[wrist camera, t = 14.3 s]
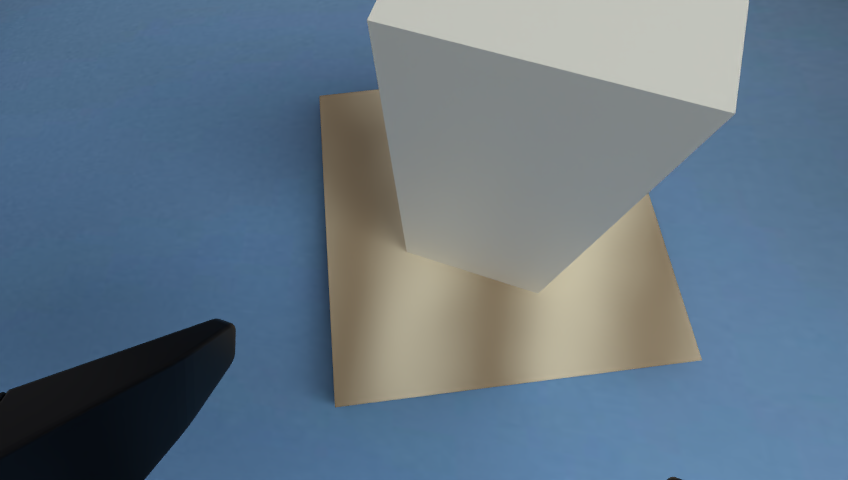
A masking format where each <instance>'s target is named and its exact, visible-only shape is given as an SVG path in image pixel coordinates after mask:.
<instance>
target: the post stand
mask: <svg viewBox="0 0 848 480" xmlns="http://www.w3.org/2000/svg"><path fill="white" fill-rule="evenodd" d="M320 116H321V137H322V157H323V177H324V197H325V217H326V237H327V257H328V277H329V297H330V317H331V337H332V357H333V377H334V397H335V407H341V406H349V405H357V404H364V403H372V402H380V401H388V400H396V399H403V398H411V397H419V396H427V395H434V394H442V393H450V392H458V391H466V390H473V389H481V388H489V387H497V386H505V385H512V384H520V383H528V382H536V381H543V380H551V379H559V378H567V377H575V376H582V375H590V374H598V373H606V372H613V371H621V370H629V369H637V368H645V367H652V366H660V365H668V364H676V363H683V362H691V361H699V360H702V359H701V356H700V352H699V349H698V346H697V343H696V340H695V337H694V334H693V331H692V328H691V324H690V321H689V318H688V315H687V312H686V309H685V306H684V303H683V300H682V296H681V293H680V290H679V287H678V284H677V281H676V278H675V275H674V271H673V268H672V265H671V262H670V259H669V256H668V253H667V250H666V247H665V243H664V240H663V237H662V234H661V231H660V228H659V225H658V222H657V219H656V215H655V212H654V209H653V206H652V203H651V200H650V197H649V194H647V195H646V196H644V197H643V198H642V199H641V200H640V201H639V202H638V203H637V204H636V205H635V206H633V207H632V208H631V209H630V210H629V211H628V212H627V213H626V214H625V215H624V216H623V217H621V218H620V219H619V220H618V221H617V222H616V223H615V224H614V225H613V226H612V227H610V228H609V229H608V230H607V231H606V232H605V233H604V234H603V235H602V236H601V237H600V238H598V239H597V240H596V241H595V242H594V243H593V244H592V245H591V246H590V247H589V248H587V249H586V250H585V251H584V252H583V253H582V254H581V255H580V256H579V257H578V258H577V259H575V260H574V261H573V262H572V263H571V264H570V265H569V266H568V267H567V268H566V269H564V270H563V271H562V272H561V273H560V274H559V275H558V276H557V277H556V278H555V279H554V280H552V281H551V282H550V283H549V284H548V285H547V286H546V287H545V288H544V289H543V290H541V291H540V292H539V293H534V292H531V291H528V290H525V289H522V288H519V287H516V286H512V285H509V284H506V283H503V282H500V281H497V280H493V279H490V278H487V277H484V276H481V275H478V274H475V273H471V272H468V271H465V270H462V269H459V268H456V267H453V266H449V265H446V264H443V263H440V262H437V261H434V260H431V259H427V258H424V257H421V256H418V255H415V254H412V253H409V252H407V251H406V245H405V239H404V233H403V227H402V221H401V216H400V210H399V204H398V198H397V192H396V186H395V180H394V175H393V169H392V163H391V157H390V151H389V145H388V139H387V134H386V128H385V122H384V116H383V110H382V104H381V99H380V93H379V89H378V90H369V91H360V92H351V93H342V94H332V95H323V96H320Z"/></svg>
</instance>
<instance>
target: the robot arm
mask: <svg viewBox="0 0 848 480" xmlns="http://www.w3.org/2000/svg"><path fill="white" fill-rule="evenodd" d="M235 335H236V329H235V326H234V325H233V324H232V323H229V322H227V321H224V320H221V319H212V320H209V321H206V322H203V323H200V324H197V325H195V326H192V327H189V328H186V329H183V330H180V331H177V332H174V333H171V334H169V335H166V336H163V337H160V338H157V339H154V340H151V341H148V342H146V343H143V344H140V345H137V346H134V347H131V348H128V349H125V350H123V351H120V352H117V353H114V354H111V355H108V356H105V357H102V358H99V359H97V360H94V361H91V362H88V363H85V364H82V365H79V366H76V367H74V368H71V369H68V370H65V371H62V372H59V373H56V374H53V375H50V376H48V377H45V378H42V379H39V380H36V381H33V382H30V383H27V384H25V385H22V386H19V387H16V388H13V389H10V390H8V392H7V393H5V392H1V393H0V480H144V479H145V478H146V477H147V476H148V475H149V473H150V472H151V471H152V470H153V469H154V467H155V466H156V465H157V464H158V463H159V461H160V460H161V459H162V458H163V457H164V455H165V454H166V453H167V452H168V451H169V450H170V448H171V447H172V446H173V445H174V444H175V442H176V441H177V440H178V439H179V438H180V436H181V435H182V434H183V433H184V431H185V430H186V429H187V428H188V426H189V425H190V423H191V422H192V421H193V419H194V418H195V416H196V415H197V414H198V412H199V411H200V409H201V408H202V406H203V405H204V403H205V402H206V400H207V399H208V397H209V396H210V394H211V393H212V392H213V390H214V389H215V387H216V386H217V384H218V383H219V381H220V380H221V378H222V377H223V375H224V374H225V372H226V371H227V370H228V368H229V367H230V365H231V363H232V361H233V359H234V356H235ZM667 480H682V479H679V478H676V477H670V478H668V479H667Z"/></svg>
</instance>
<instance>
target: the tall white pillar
mask: <svg viewBox="0 0 848 480" xmlns="http://www.w3.org/2000/svg"><path fill="white" fill-rule="evenodd" d="M748 5H749V0H377V1H376V3H375V5H374V7H373V9H372V11H371V13H370V15H369V17H368V19H367V22H368V28H369V34H370V40H371V46H372V52H373V58H374V63H375V69H376V75H377V81H378V87H379V93H380V99H381V104H382V110H383V116H384V122H385V128H386V134H387V139H388V145H389V151H390V157H391V163H392V169H393V175H394V180H395V186H396V192H397V198H398V204H399V210H400V216H401V221H402V227H403V233H404V239H405V245H406V251H407V252H409V253H412V254H415V255H418V256H421V257H424V258H427V259H431V260H434V261H437V262H440V263H443V264H446V265H449V266H453V267H456V268H459V269H462V270H465V271H468V272H471V273H475V274H478V275H481V276H484V277H487V278H490V279H493V280H497V281H500V282H503V283H506V284H509V285H512V286H516V287H519V288H522V289H525V290H528V291H531V292H534V293H539V292H540V291H541V290H543V289H544V288H545V287H546V286H547V285H548V284H549V283H550V282H551V281H552V280H554V279H555V278H556V277H557V276H558V275H559V274H560V273H561V272H562V271H563V270H564V269H566V268H567V267H568V266H569V265H570V264H571V263H572V262H573V261H574V260H575V259H577V258H578V257H579V256H580V255H581V254H582V253H583V252H584V251H585V250H586V249H587V248H589V247H590V246H591V245H592V244H593V243H594V242H595V241H596V240H597V239H598V238H600V237H601V236H602V235H603V234H604V233H605V232H606V231H607V230H608V229H609V228H610V227H612V226H613V225H614V224H615V223H616V222H617V221H618V220H619V219H620V218H621V217H623V216H624V215H625V214H626V213H627V212H628V211H629V210H630V209H631V208H632V207H633V206H635V205H636V204H637V203H638V202H639V201H640V200H641V199H642V198H643V197H644V196H646V195H647V194H648V193H649V192H650V191H651V190H652V189H653V188H654V187H655V186H656V185H658V184H659V183H660V182H661V181H662V180H663V179H664V178H665V177H666V176H667V175H669V174H670V173H671V172H672V171H673V170H674V169H675V168H676V167H677V166H678V165H679V164H681V163H682V162H683V161H684V160H685V159H686V158H687V157H688V156H689V155H690V154H692V153H693V152H694V151H695V150H696V149H697V148H698V147H699V146H700V145H701V144H702V143H704V142H705V141H706V140H707V139H708V138H709V137H710V136H711V135H712V134H713V133H715V132H716V131H717V130H718V129H719V128H720V127H721V126H722V125H723V124H724V123H725V122H727V121H728V120H729V119H730V118H731V117H732V116H733V115H734V114H735V111H736V103H737V95H738V86H739V78H740V70H741V62H742V54H743V46H744V37H745V29H746V21H747V13H748Z"/></svg>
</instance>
